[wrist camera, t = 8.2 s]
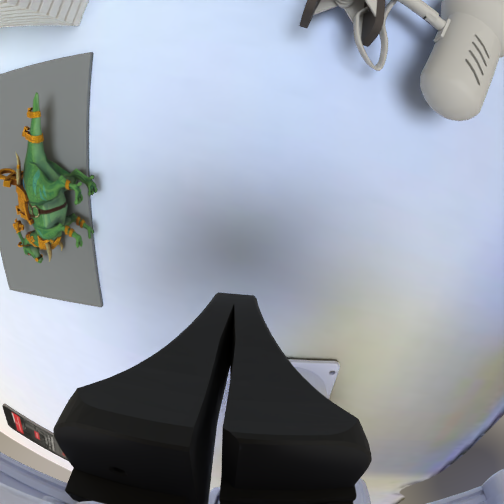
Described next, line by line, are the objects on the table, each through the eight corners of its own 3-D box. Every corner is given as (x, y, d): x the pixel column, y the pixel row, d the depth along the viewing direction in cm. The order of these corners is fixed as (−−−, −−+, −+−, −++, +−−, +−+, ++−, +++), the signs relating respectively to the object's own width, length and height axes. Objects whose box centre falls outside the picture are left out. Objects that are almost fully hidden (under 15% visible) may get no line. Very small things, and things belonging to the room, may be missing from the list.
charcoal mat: (103, 305, 23) (101, 307, 22) (11, 287, 23) (9, 289, 22) (93, 52, 15) (90, 52, 15) (-9, 78, 15) (-12, 78, 15)
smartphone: (1, 403, 31) (92, 455, 33) (3, 400, 31) (93, 451, 33) (8, 426, 33) (90, 471, 35) (10, 423, 34) (91, 468, 36)
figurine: (98, 267, 21) (17, 241, 21) (110, 94, 16) (17, 90, 16) (77, 291, 19) (-6, 259, 18) (83, 96, 13) (-13, 94, 13)
